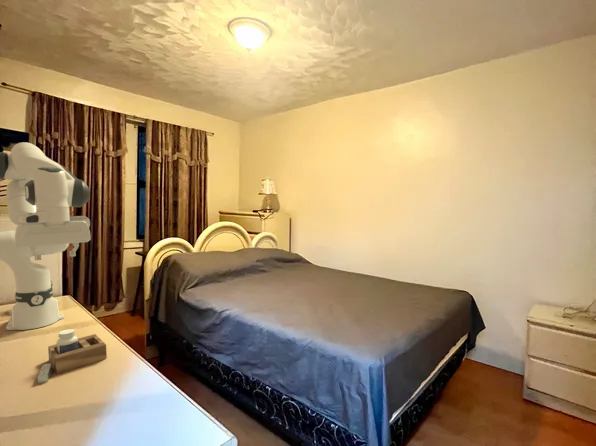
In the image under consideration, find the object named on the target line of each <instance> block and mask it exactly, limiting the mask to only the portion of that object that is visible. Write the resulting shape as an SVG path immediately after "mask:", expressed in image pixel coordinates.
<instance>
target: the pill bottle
mask: <svg viewBox="0 0 596 446" xmlns="http://www.w3.org/2000/svg"><path fill="white" fill-rule="evenodd" d="M58 337H59V338H58V339H57V340H56V344H57V354H58V355H59V354H62V353H66V352H70V351H73V350H77V349H78V336H77V335H76V332H75V329H72V328H71V329H70V328H69V329H64V330H61V331H59V332H58Z"/></svg>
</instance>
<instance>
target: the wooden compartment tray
mask: <svg viewBox="0 0 596 446" xmlns="http://www.w3.org/2000/svg"><path fill="white" fill-rule="evenodd" d="M77 338H78V337H77ZM47 348H48V349H47V350H48V351H47V352H48V361H49V363H52V369H54V372H55V373H56V374H57V375H58V374H60V373H64V372H67V371H71V370H74V369H76V368H79V367H84V366H86V365H89V364H93V363H96V362H99V361H102V360H106V359H107V358H108V356H107V344H106V343H105V342H104V341H103V340H102V339H101V338H100V337H99V336H98V335H97V334H95V333H93V334H91V335H86V336H83V337H79V338H78V349H77V350H73V351H70V352H66V353H62V354H59V355H58V354H57V343H56V344H52V345H48V346H47Z"/></svg>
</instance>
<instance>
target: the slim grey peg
mask: <svg viewBox="0 0 596 446" xmlns="http://www.w3.org/2000/svg"><path fill="white" fill-rule="evenodd" d="M52 372H53V366H52V363H50V362H49V363H45V364H42V365H41V368H40V371H39V373H38V375H37V384H38V385H39V384H43V383H48V382H49V380H50V378H51V374H52Z"/></svg>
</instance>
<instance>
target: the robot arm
mask: <svg viewBox="0 0 596 446" xmlns="http://www.w3.org/2000/svg"><path fill="white" fill-rule="evenodd" d="M0 180H10V181H9V183H8V184H7V187H6V194H5V195H6V204H7V205H6V206H7V212H8V218H9V221H11V222H12V223H13V224H14V225H16V227H15V229H13V230H11V229H10V230H4V231H0V261H2V262H4V263H5V264H6V265H8V266H9V268H10V269H11V271H12V272H13V275H14V280H15V288H16V291H15V294H14V298H15V302H16V303H15V304H14V305H13V306H12V308H11V309H9V310H8V311H9V312H8V314H9V316H10V319H9V321H8V323H7V324H6V326H5V330H6V331H13V330H14V331H15V330H16V331H17V330H18V331H19V330H20V331H23V330H24V331H27V330H34V329H38V328H43V327H46V326H49V325H51V324H54V323H56V322H58V321H60V320H62V319H65V315H64V314H62V313H60V311H59V309H60V308H59V302H58V299H56V298H55V297H54V296H53V295H54V290H53V286H52V287H51V280H52V279H51V270H50V268H48V267H47V266H45V265H43V264H39V263H37V262H33V261H32V260H31V257H34V261H41V260H42V256H46V255H47V256H48V255H54V254H57V253H61V252H65V251H66V250H67V248H68V247H69V246H70V244H72V246H73V248H72V250H69V251H68V252H69V257H76V256H77V254H76V252H77V250H78V249H79V247H80V243H88V242H89V241H91V231H90V226H91V219H90V218H88V217H87V216H85V215H70V207H73V208H81V207H83V206H84V205H86V204H87V203H88V202H89V201H90V197H91V192H90V188H89V186H88V185H87V183H86V182H84V181H83V180H82V179H79V178H77V176H76V175H74V174H73V173H72V172H71V171H70V170H69V169H68V168H66V167H65V166H64V165H62V164H60V163H58V162H56V161H55V160H52V159H51V158H50V157H48V156H46V154H45V153H44V151H42V150H41V149H40V148H39V147H38V146H36V145H35V144H33V143H30V142H26V141H25V142H24V141H23V142H18V143H16V144H15V145H13V146H12V148H11V150H10V152H4V151H1V152H0Z"/></svg>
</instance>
